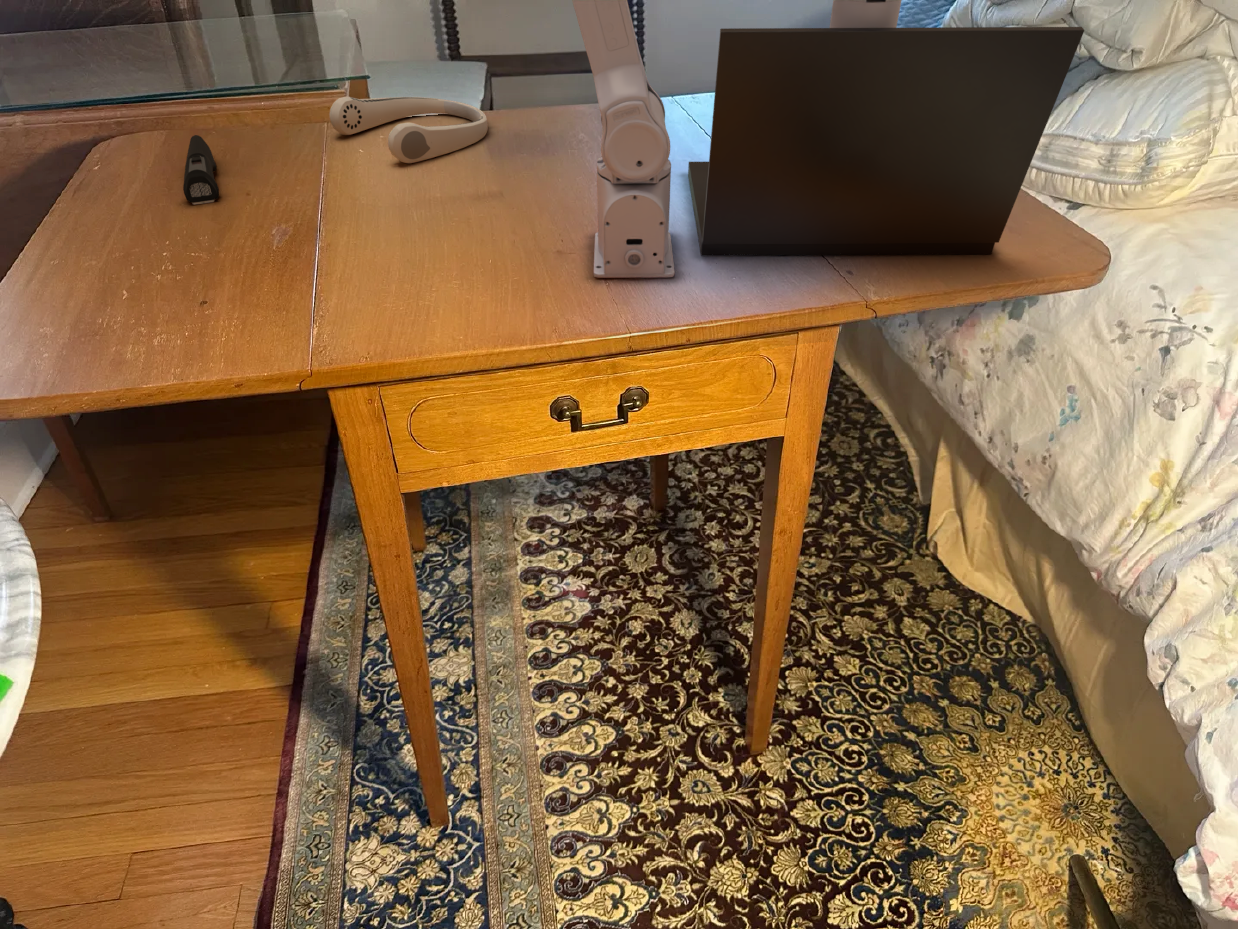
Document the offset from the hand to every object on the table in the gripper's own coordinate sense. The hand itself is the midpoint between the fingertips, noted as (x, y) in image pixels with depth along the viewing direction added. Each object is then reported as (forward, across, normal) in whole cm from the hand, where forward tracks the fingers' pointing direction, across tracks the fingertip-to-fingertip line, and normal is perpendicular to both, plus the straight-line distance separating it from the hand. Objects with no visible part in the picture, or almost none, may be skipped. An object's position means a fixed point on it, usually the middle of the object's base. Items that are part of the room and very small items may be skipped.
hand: (835, 192), depth 85 cm
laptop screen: (-6, -2, +3) cm, 7 cm away
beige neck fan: (+7, +48, -35) cm, 60 cm away
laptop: (+6, -2, -10) cm, 12 cm away
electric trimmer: (+7, +72, -20) cm, 75 cm away
